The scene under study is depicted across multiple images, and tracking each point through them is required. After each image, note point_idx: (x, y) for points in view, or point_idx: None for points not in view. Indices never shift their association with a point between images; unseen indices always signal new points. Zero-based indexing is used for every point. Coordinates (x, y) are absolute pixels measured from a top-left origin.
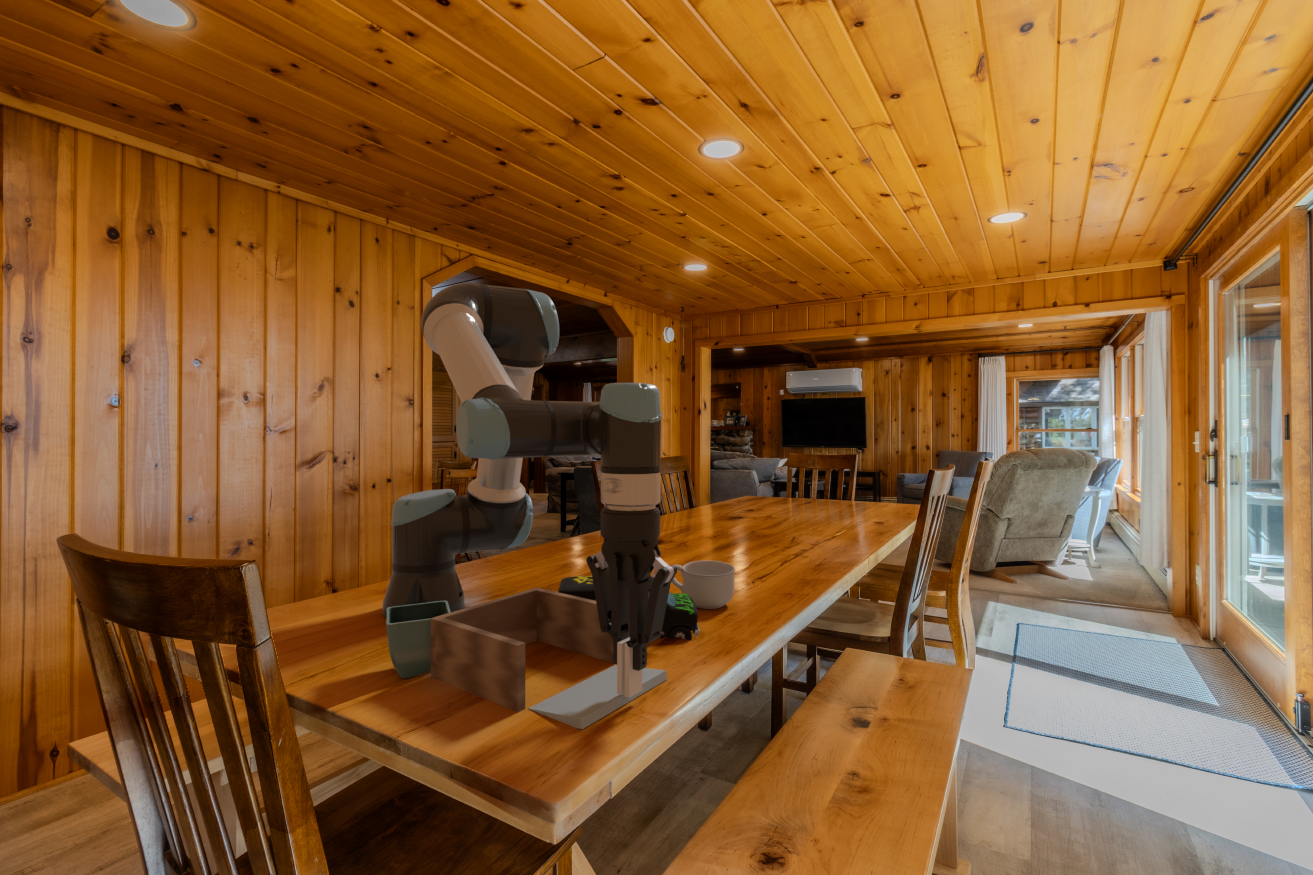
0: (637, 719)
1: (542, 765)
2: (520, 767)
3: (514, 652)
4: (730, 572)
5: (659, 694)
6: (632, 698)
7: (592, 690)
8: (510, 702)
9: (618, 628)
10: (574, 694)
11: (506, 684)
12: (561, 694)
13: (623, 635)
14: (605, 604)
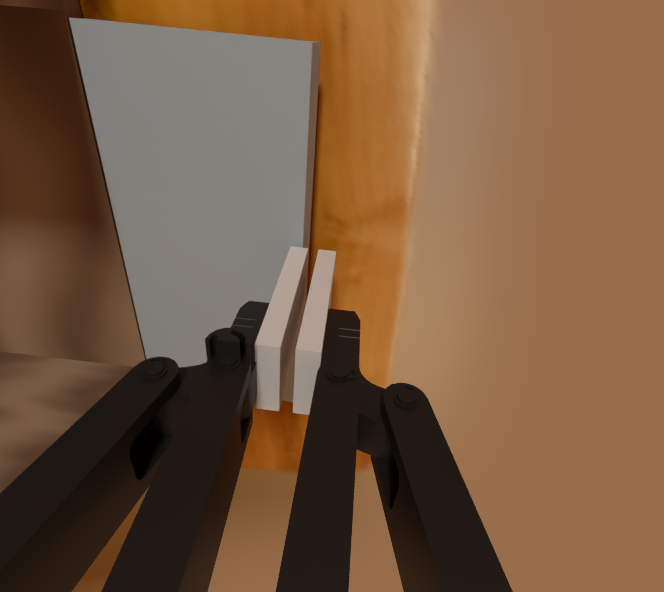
0: (350, 261)
1: (300, 436)
2: (276, 448)
3: None
4: None
5: (323, 99)
6: (308, 242)
7: (197, 270)
8: None
9: (244, 451)
10: (175, 297)
11: None
12: (146, 301)
13: (252, 394)
14: (110, 523)
